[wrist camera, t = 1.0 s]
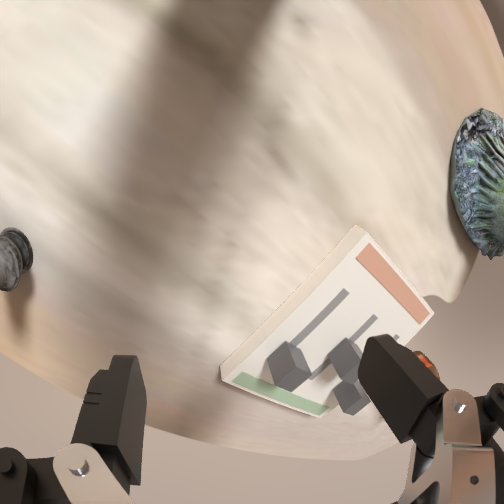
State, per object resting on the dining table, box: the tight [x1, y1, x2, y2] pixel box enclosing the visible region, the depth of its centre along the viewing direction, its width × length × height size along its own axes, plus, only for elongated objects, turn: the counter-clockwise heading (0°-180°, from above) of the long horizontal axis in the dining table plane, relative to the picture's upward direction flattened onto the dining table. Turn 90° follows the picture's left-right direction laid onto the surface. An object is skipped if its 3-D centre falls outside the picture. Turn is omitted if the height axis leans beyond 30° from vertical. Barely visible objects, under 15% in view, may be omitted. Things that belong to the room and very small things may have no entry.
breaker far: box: [333, 380, 371, 415], centre depth 33 cm, size 3×2×4 cm
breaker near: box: [267, 341, 312, 392], centre depth 29 cm, size 3×2×4 cm
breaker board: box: [220, 225, 434, 418], centre depth 33 cm, size 22×18×3 cm
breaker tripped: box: [328, 338, 363, 385], centre depth 30 cm, size 3×2×4 cm
